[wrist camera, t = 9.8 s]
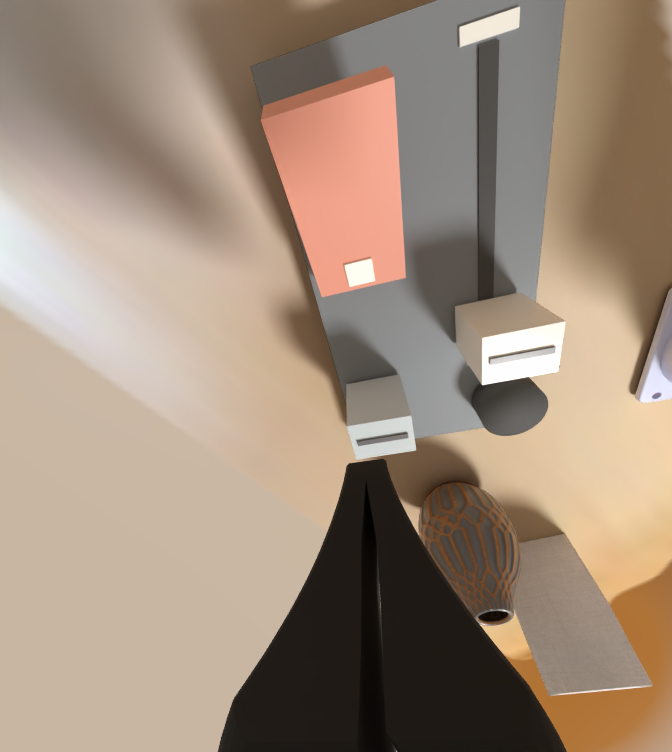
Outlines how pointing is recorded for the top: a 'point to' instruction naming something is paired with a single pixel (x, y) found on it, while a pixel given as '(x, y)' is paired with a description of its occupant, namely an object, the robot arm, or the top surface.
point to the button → (509, 406)
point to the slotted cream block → (508, 338)
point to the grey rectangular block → (571, 623)
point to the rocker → (343, 178)
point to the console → (444, 184)
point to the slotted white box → (379, 417)
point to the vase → (473, 549)
